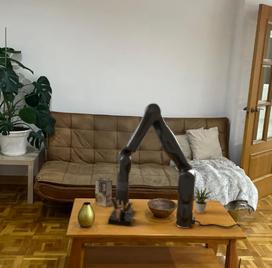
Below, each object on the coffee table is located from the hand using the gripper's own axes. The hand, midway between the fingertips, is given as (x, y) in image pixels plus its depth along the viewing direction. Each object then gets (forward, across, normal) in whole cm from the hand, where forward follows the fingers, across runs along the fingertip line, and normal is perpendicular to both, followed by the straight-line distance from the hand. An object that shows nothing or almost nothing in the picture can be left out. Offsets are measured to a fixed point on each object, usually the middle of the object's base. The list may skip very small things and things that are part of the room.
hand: (121, 216), depth 209 cm
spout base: (+3, 0, 0) cm, 3 cm away
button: (0, +6, -12) cm, 13 cm away
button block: (+3, +6, -12) cm, 13 cm away
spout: (0, 0, 0) cm, 0 cm away
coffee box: (+4, +24, -16) cm, 29 cm away
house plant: (+4, -34, -42) cm, 54 cm away
